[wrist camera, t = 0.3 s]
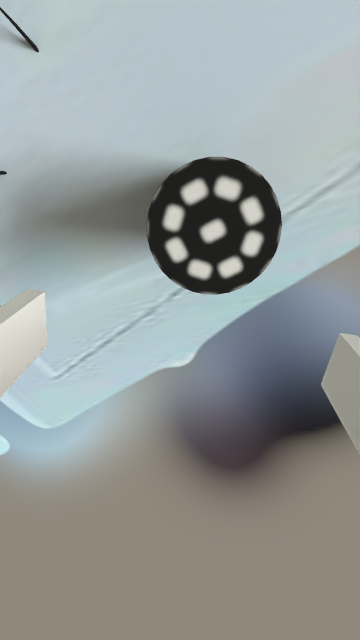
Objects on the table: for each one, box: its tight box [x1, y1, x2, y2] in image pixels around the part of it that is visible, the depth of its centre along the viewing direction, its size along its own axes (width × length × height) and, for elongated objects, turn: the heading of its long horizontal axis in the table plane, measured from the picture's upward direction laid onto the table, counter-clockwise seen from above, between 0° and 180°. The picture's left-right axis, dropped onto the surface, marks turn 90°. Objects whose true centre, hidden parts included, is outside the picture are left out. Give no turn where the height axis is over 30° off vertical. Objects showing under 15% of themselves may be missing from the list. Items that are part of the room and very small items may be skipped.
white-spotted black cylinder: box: [147, 157, 282, 294], centre depth 30 cm, size 8×8×20 cm
